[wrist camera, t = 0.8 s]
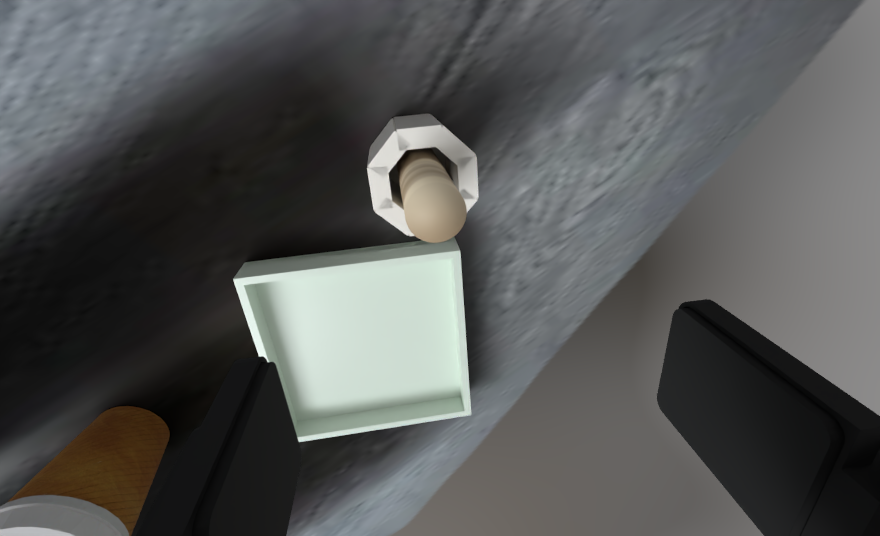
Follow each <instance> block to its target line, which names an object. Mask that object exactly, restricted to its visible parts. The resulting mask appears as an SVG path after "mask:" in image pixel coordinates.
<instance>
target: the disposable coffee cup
mask: <svg viewBox="0 0 880 536" xmlns="http://www.w3.org/2000/svg"><path fill="white" fill-rule="evenodd" d="M169 437H170V432H169V429H168V426H167V425H166V423H165V422H164V421H163V420H162V419H161V418H160V417H159V416H157V415H156V414H154V413H153V412H151V411H149V410H145V409H142V408H139V407H133V406H119V407H115V408H111V409H109V410H106V411H105V412H103V413H102V414H100V415H99V416H98V417H97V418H96V419H95V420H94V421H93V422H92V423H91V424H90V425H89V426H88V427H87V428H86V429H85V430H84V431H83V432H82V433H81V434H79V435H78V436H77V437H76V438H75V439H74V440H73V441H72V442H71V443H70V444H69V445H68V446H66V447H65V448H64V449H63V450H62V451H61V452H60V453H59V454H58V455H57V456H56V457H55V458H54V459H53V460H52V461H51V462H50V463H48V464H47V465H46V466H45V467H44V468H43V469H42V470H41V471H40V472H39V473H38V474H37V475H36V476H35V477H34V478H33V479H32V480H31V481H30V482H28V483H27V484H26V485H25V486H24V487H23V488H22V489H21V490H20V491H19V492H18V493H17V494H16V495H15V496H14V497H12V498H11V499H10V500H9V501H8V502H7V503H6V504H4V505H2V506H1V507H0V536H131V534H132V531H133V529H134V527H135V524H136V521H137V519H138V517H139V514H140V512H141V509H142V505H143V504H144V501H145V498H146V497H147V494H148V491H149V489H150V486H151V484H152V481H153V478H154V476H155V473H156V471H157V468H158V466H159V463H160V461H161V458H162V456H163V453H164V451H165V448H166V446H167V443H168V441H169Z"/></svg>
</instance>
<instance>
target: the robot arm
mask: <svg viewBox="0 0 880 536" xmlns="http://www.w3.org/2000/svg"><path fill="white" fill-rule="evenodd" d="M657 401H658V405H659V407H660V409H661V411H662V412H663V413H664V414H665V416H666V417H667V418H668V419H669V420H670V422H671V423H672V424H673V426H674V427H675V428H676V429H677V430H678V432H679V433H680V434H681V435H682V436H683V438H684V439H685V440H686V441H687V442H688V444H689V445H690V446H691V447H692V449H693V450H694V451H695V452H696V453H697V455H698V456H699V457H700V458H701V460H702V461H703V462H704V463H705V464H706V466H707V467H708V468H709V469H710V470H711V472H712V473H713V474H714V475H715V476H716V478H717V479H718V480H719V481H720V483H721V484H722V485H723V486H724V487H725V489H726V490H727V491H728V492H729V494H730V495H731V496H732V497H733V498H734V500H735V501H736V502H737V503H738V504H739V506H740V507H741V508H742V509H743V510H744V512H745V513H746V514H747V515H748V517H749V518H750V519H751V520H752V521H753V523H754V524H755V525H756V526H757V528H758V529H759V530H760V531H761V532H762V534H763V535H764V536H880V416H879V415H877V414H876V413H874V412H873V411H871V410H870V409H869V408H867V407H866V406H864V405H863V404H861V403H860V402H858V401H857V400H856V399H854V398H852V397H851V396H850V395H848V394H847V393H845V392H844V391H843V390H841V389H840V388H838V387H837V386H835V385H834V384H832V383H831V382H830V381H828V380H826V379H825V378H824V377H822V376H821V375H819V374H818V373H816V372H815V371H814V370H812V369H810V368H809V367H808V366H806V365H805V364H803V363H802V362H800V361H799V360H798V359H796V358H795V357H793V356H792V355H790V354H789V353H788V352H786V351H785V350H783V349H782V348H780V347H779V346H777V345H776V344H774V343H773V342H772V341H770V340H769V339H767V338H766V337H764V336H763V335H761V334H760V333H759V332H757V331H756V330H754V329H752V328H751V327H750V326H748V325H747V324H746V323H744V322H742V321H741V320H740V319H738V318H737V317H735V316H734V315H732V314H731V313H730V312H728V311H727V310H725V309H724V308H722V307H721V306H719V305H718V304H717V303H715V302H713V301H711V300H698V301H690V302H684V303H682V304H681V305H680V306H679V309H678V310H676V311H675V312H674V314H673V318H672V323H671V328H670V333H669V338H668V343H667V348H666V353H665V359H664V363H663V369H662V373H661V378H660V384H659V389H658V394H657ZM300 467H301V448H300V445H299V441H298V438H297V434H296V431H295V428H294V424H293V421H292V417H291V414H290V411H289V407H288V404H287V400H286V397H285V394H284V390H283V387H282V383H281V380H280V377H279V373H278V370H277V367H276V364H275V363H274V362H267V360H266V358H265V357H263V356H261V357H254V358H246V359H238V360H236V361H235V362H234V363H233V365H232V367H231V368H230V370H229V372H228V374H227V376H226V378H225V380H224V382H223V384H222V386H221V388H220V390H219V392H218V394H217V395H216V397H215V399H214V401H213V403H212V405H211V407H210V409H209V411H208V413H207V415H206V417H205V419H204V421H203V422H202V424H201V426H200V427H198V428H196V429H195V430H193V432H192V433H191V434H190V436H189V438H188V439H187V441H186V443H185V445H184V447H183V449H182V451H181V452H180V454H179V456H178V458H177V460H176V462H175V464H174V466H173V467H172V469H171V471H170V473H169V475H168V477H167V479H166V480H165V482H164V484H163V486H162V488H161V490H160V492H159V494H158V495H157V497H156V499H155V501H154V503H153V505H152V507H151V509H150V510H149V512H148V514H147V516H146V518H145V520H144V522H143V523H142V525H141V527H140V529H139V531H138V533H137V535H136V536H286V534H287V529H288V524H289V519H290V515H291V510H292V505H293V500H294V496H295V491H296V486H297V481H298V477H299V472H300Z"/></svg>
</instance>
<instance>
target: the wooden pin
mask: <svg viewBox="0 0 880 536" xmlns="http://www.w3.org/2000/svg"><path fill="white" fill-rule="evenodd" d="M397 170H398V176H399V182H400V189H401V195H402V201H403V208H404V214H405V220H406V223H407V226H408V228H409V229H410V231H411V232H412V233H413V234H414V235H415V236H416V237H417V238H419V239H421V240H423V241H426V242H430V243H439V242H444V241H447V240H449V239H451V238H452V237H454V236H455V235H456V234H457V233H458V232H459V231H460V230H461V229H462V227H463V225H464V223H465V220H466V215H467V209H466V204H465V201H464V199H463V197H462V196H461V194H460V192H459V191H458V189H457V188H456V186H455V184H454V183H453V181H452V180H451V178H450V177H449V175H448V173H447V172H446V170H445V169H444V167H443V166H442V164H441V162H440V161H439V159H438V158H437V156H436V154H435V153H434V151H433V150H432V149H431V148H420V149H411V150H406V151H405V152H404V154H403V155H402V156H401V158H400V159H399V160H398V161H397Z"/></svg>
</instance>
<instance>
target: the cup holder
mask: <svg viewBox="0 0 880 536" xmlns="http://www.w3.org/2000/svg"><path fill="white" fill-rule="evenodd" d="M393 118H394V119H393ZM393 118H391V120H390V121H389V122H388V124H387V125H386V126H385V128H384V129H383V130H382V132H381V133H380V134H379V136H378V137H377V138H376V140H375V141H374V142H373V144H372V145H371V146H370V151H369V158H368V165H367V171H368V177H369V184H370V190H371V196H372V203H373V209H374V210H375V212H376V213H377V214H378V215H380V216H381V217H382V218H384V219H385V220H387V221H388V222H389V223H391V224H392V225H393V226H395V227H396V228H398V229H399V230H400V231H402V232H403V233H404V234H406V235H407V236H408V235H409V236H415V235H414V234H413V233H412V232H411V231H410V229H409V228H408V226H407V223H406V220H405V214H404V208H403V201H402V195H401V189H400V182H399V176H398V170H397V161H398V160H399V159H400V158H401V156H402V155H403V154H404V152H405V151H406V150H411V149H420V148H431V149H432V150H433V151H434V153H435V154H436V156H437V158H438V159H439V161H440V162H441V164H442V166H443V167H444V169H445V170H446V172H447V173H448V175H449V177H450V178H451V180H452V181H453V183H454V184H455V186H456V188H457V189H458V191H459V192H460V194H461V196H462V197H463V199H464V201H465V204H466V209H467V212H468V211H469V209H470V208H471V207H472V206H473V205H474V204H475V202H476V201H477V200H478V199H477V198H478V174H477V156H476V154H475V153H474V152H473V151H472V150H470V149H469V148H468V147H467V146H466V145H465V144H464V143H463V142H462V141H460V140H459V139H458V138H457V137H456V136H455V135H454V134H453V133H452V132H450V131H449V130H448V129H447V128H446V127H445V126H444V125H442V124H441V123H440V122H439V121H438V120H437V119H436V118H435V117H433V116H432V115H431V114H419V115H409V116H399V117H393Z"/></svg>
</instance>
